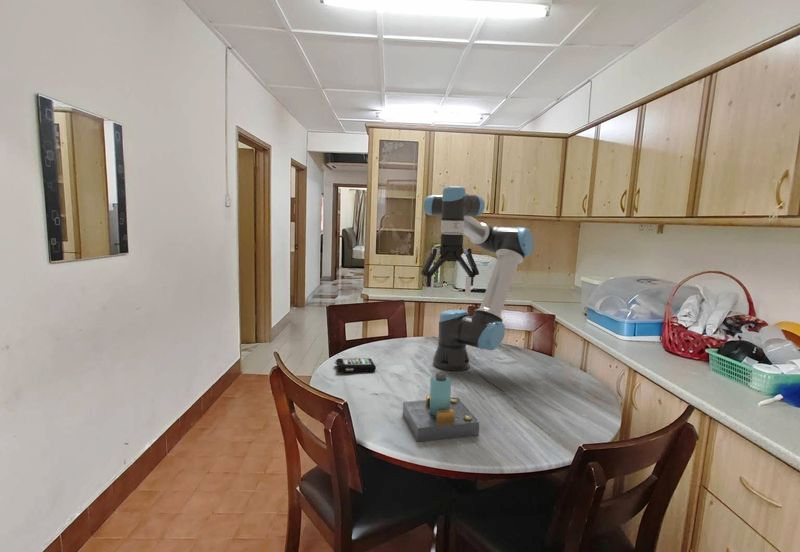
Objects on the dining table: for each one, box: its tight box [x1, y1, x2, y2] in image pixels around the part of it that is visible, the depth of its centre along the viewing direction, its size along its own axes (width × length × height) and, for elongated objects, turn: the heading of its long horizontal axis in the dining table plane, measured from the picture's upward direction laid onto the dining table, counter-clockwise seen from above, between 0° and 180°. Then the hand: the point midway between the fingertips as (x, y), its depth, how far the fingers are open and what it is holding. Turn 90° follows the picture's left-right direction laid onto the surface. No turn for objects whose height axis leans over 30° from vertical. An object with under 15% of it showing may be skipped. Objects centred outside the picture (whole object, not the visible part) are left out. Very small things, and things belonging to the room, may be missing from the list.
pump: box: [429, 371, 452, 416], centre depth 118 cm, size 6×6×12 cm
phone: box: [334, 357, 377, 374], centre depth 161 cm, size 11×15×4 cm
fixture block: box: [402, 395, 480, 443], centre depth 119 cm, size 18×16×6 cm
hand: (449, 295), depth 139 cm, fingers open, 13 cm apart
